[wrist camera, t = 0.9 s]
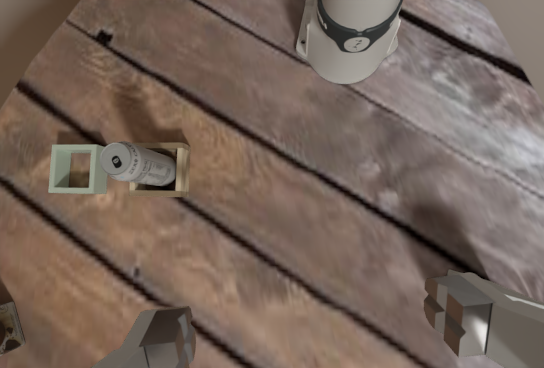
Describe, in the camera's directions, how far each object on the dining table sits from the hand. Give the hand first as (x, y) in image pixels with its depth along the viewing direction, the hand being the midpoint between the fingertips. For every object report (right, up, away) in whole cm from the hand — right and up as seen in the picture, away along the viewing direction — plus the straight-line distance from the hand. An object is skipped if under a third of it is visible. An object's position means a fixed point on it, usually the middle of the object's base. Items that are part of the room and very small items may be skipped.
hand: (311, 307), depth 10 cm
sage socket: (-39, +7, +48) cm, 62 cm away
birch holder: (-23, +7, +46) cm, 51 cm away
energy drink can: (-23, +7, +46) cm, 52 cm away
